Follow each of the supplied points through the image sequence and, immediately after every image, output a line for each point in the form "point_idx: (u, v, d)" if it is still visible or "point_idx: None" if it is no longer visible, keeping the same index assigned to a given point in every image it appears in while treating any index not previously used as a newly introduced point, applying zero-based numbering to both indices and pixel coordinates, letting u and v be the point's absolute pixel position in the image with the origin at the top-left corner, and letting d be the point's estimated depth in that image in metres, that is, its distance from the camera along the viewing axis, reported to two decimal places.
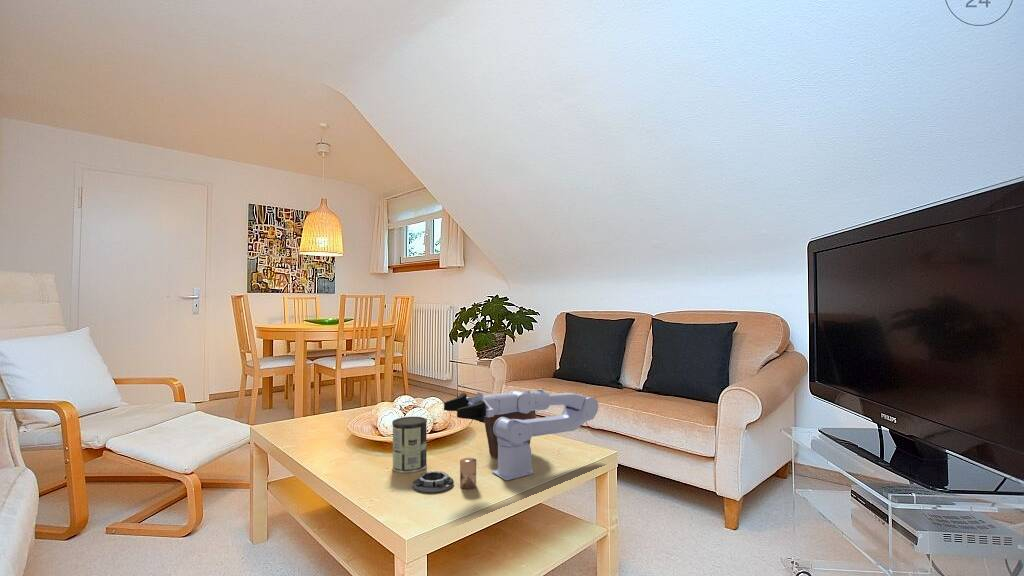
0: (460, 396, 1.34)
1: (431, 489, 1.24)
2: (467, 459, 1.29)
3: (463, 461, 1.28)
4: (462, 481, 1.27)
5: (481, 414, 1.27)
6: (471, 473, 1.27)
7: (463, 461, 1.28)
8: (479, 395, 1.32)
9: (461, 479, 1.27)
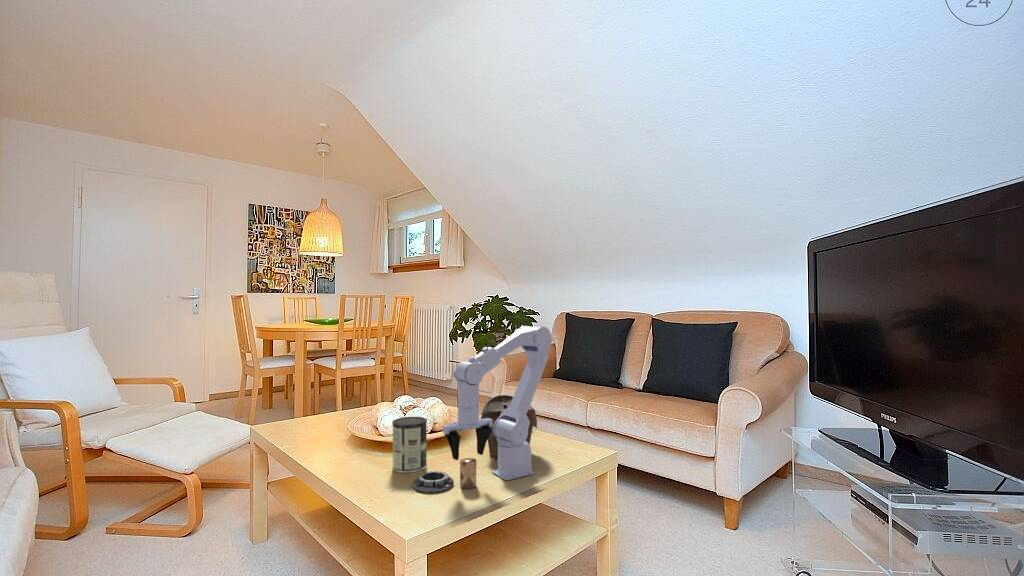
0: (457, 441, 1.25)
1: (431, 489, 1.24)
2: (467, 459, 1.29)
3: (463, 461, 1.28)
4: (462, 481, 1.27)
5: None
6: (471, 473, 1.27)
7: (463, 461, 1.28)
8: None
9: (461, 479, 1.27)
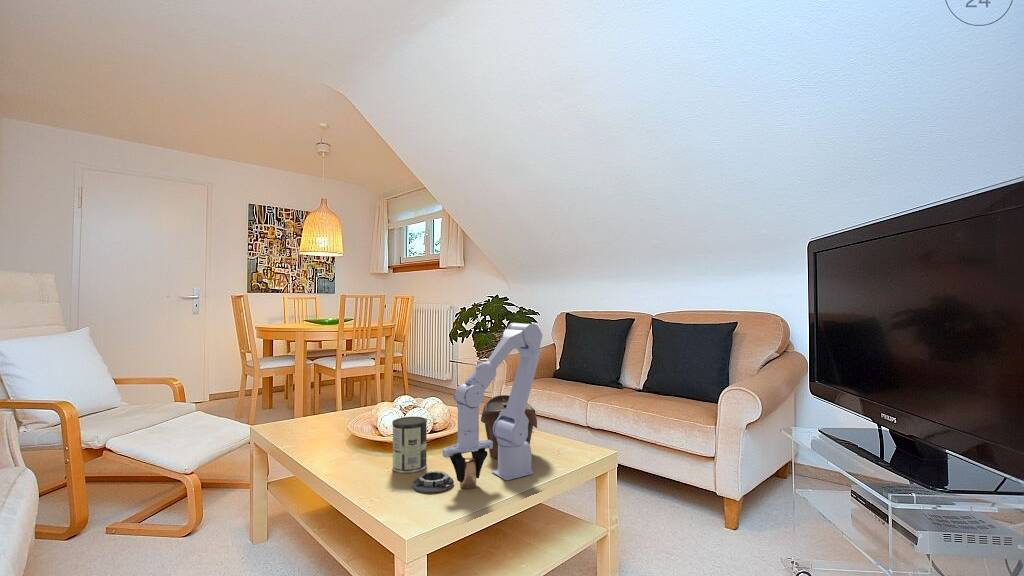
0: (461, 464, 1.25)
1: (431, 489, 1.24)
2: (467, 459, 1.29)
3: None
4: None
5: None
6: (471, 473, 1.27)
7: None
8: None
9: None
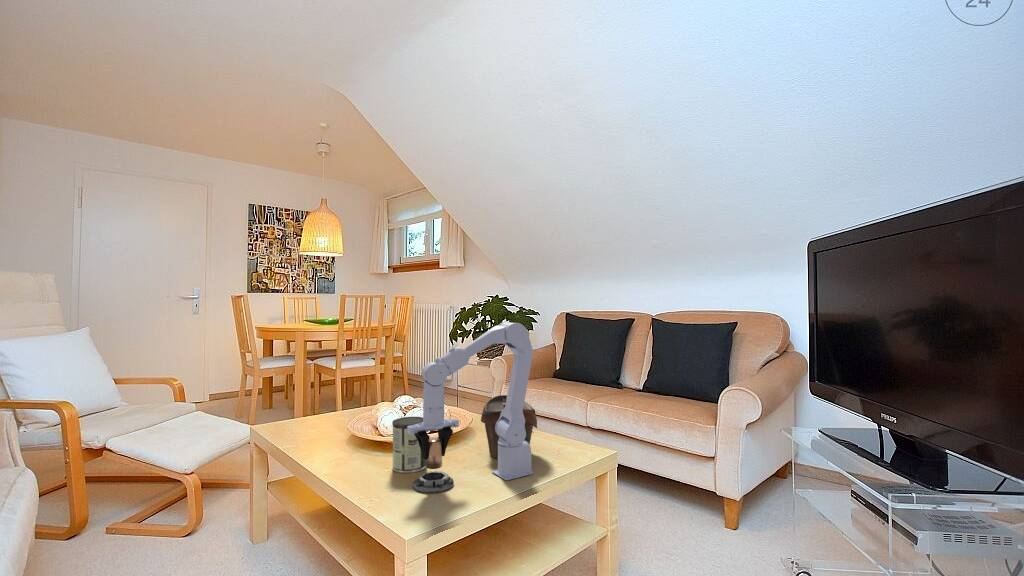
0: (425, 441, 1.26)
1: (431, 489, 1.24)
2: (432, 440, 1.30)
3: None
4: (428, 461, 1.28)
5: None
6: (437, 453, 1.28)
7: (429, 441, 1.29)
8: None
9: (427, 459, 1.28)
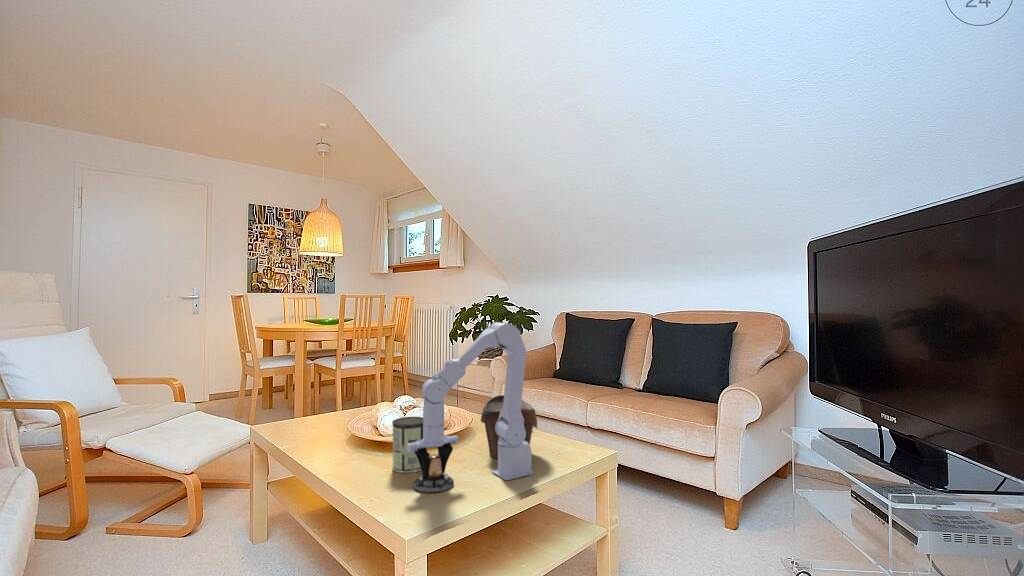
0: (425, 459, 1.26)
1: (431, 489, 1.24)
2: (433, 456, 1.30)
3: None
4: (428, 478, 1.27)
5: None
6: (437, 469, 1.28)
7: (429, 457, 1.28)
8: None
9: None
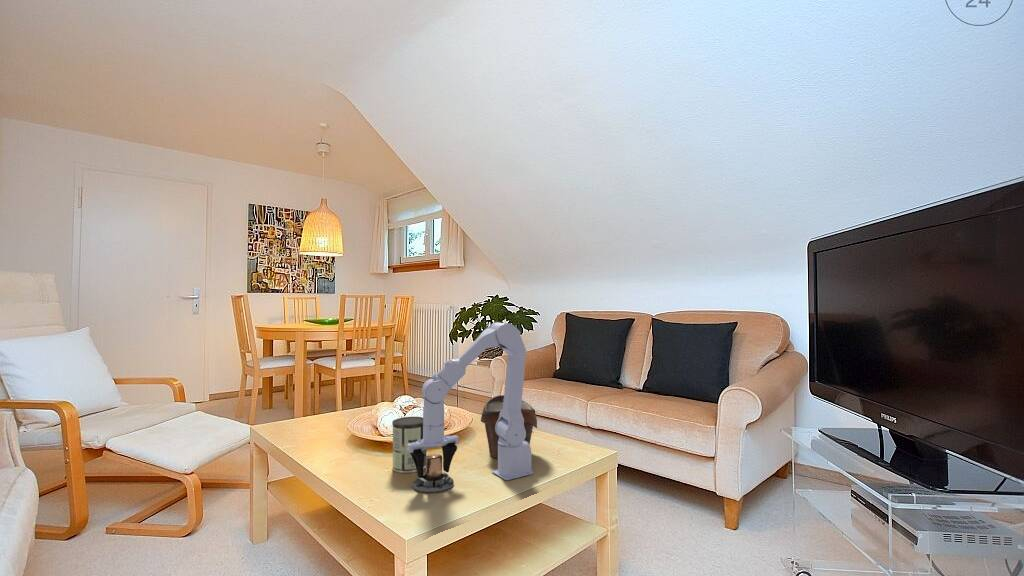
0: (421, 460, 1.25)
1: (431, 489, 1.24)
2: (433, 456, 1.30)
3: (428, 457, 1.29)
4: (428, 478, 1.27)
5: None
6: (437, 469, 1.28)
7: (429, 457, 1.28)
8: (439, 445, 1.27)
9: (427, 475, 1.28)
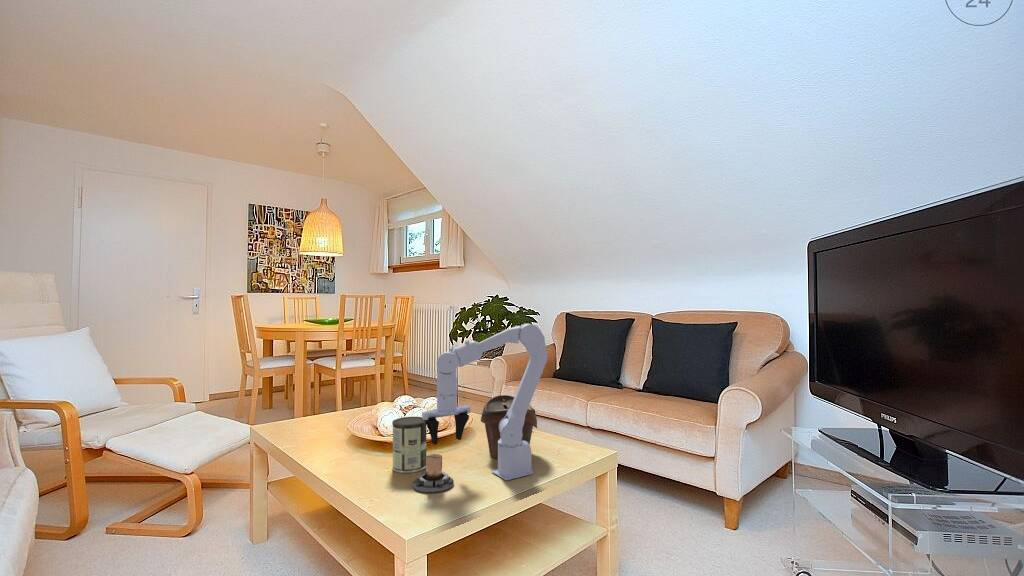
0: (435, 427, 1.32)
1: (431, 489, 1.24)
2: (433, 456, 1.30)
3: (428, 457, 1.29)
4: (428, 478, 1.27)
5: None
6: (437, 469, 1.28)
7: (429, 457, 1.28)
8: (452, 413, 1.34)
9: (427, 475, 1.28)
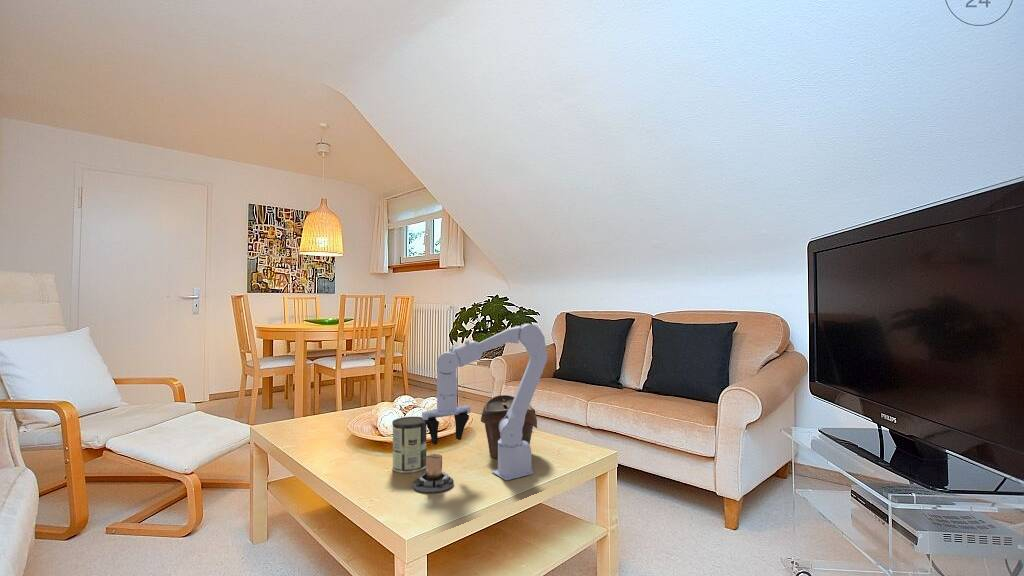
0: (435, 427, 1.32)
1: (431, 489, 1.24)
2: (433, 456, 1.30)
3: (428, 457, 1.29)
4: (428, 478, 1.27)
5: None
6: (437, 469, 1.28)
7: (429, 457, 1.28)
8: (452, 413, 1.34)
9: (427, 475, 1.28)
